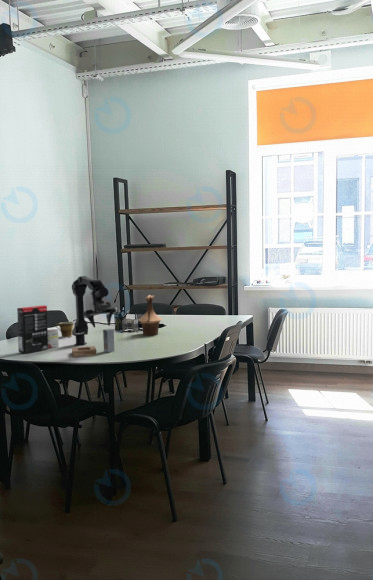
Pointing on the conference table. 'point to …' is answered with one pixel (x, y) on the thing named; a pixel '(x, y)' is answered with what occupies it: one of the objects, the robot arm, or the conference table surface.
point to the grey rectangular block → (108, 340)
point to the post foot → (84, 351)
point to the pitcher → (150, 319)
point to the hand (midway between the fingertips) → (101, 326)
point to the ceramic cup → (66, 328)
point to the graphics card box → (32, 329)
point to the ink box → (53, 337)
